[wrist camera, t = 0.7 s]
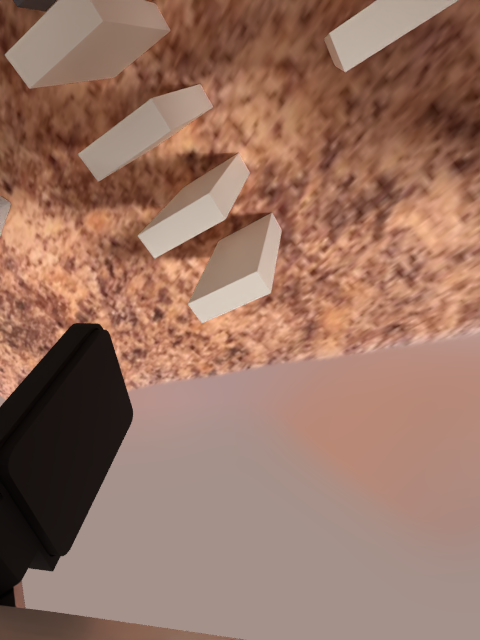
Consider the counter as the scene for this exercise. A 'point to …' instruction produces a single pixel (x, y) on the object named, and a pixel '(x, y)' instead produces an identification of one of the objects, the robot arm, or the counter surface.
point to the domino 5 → (378, 28)
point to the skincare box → (3, 211)
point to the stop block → (34, 4)
